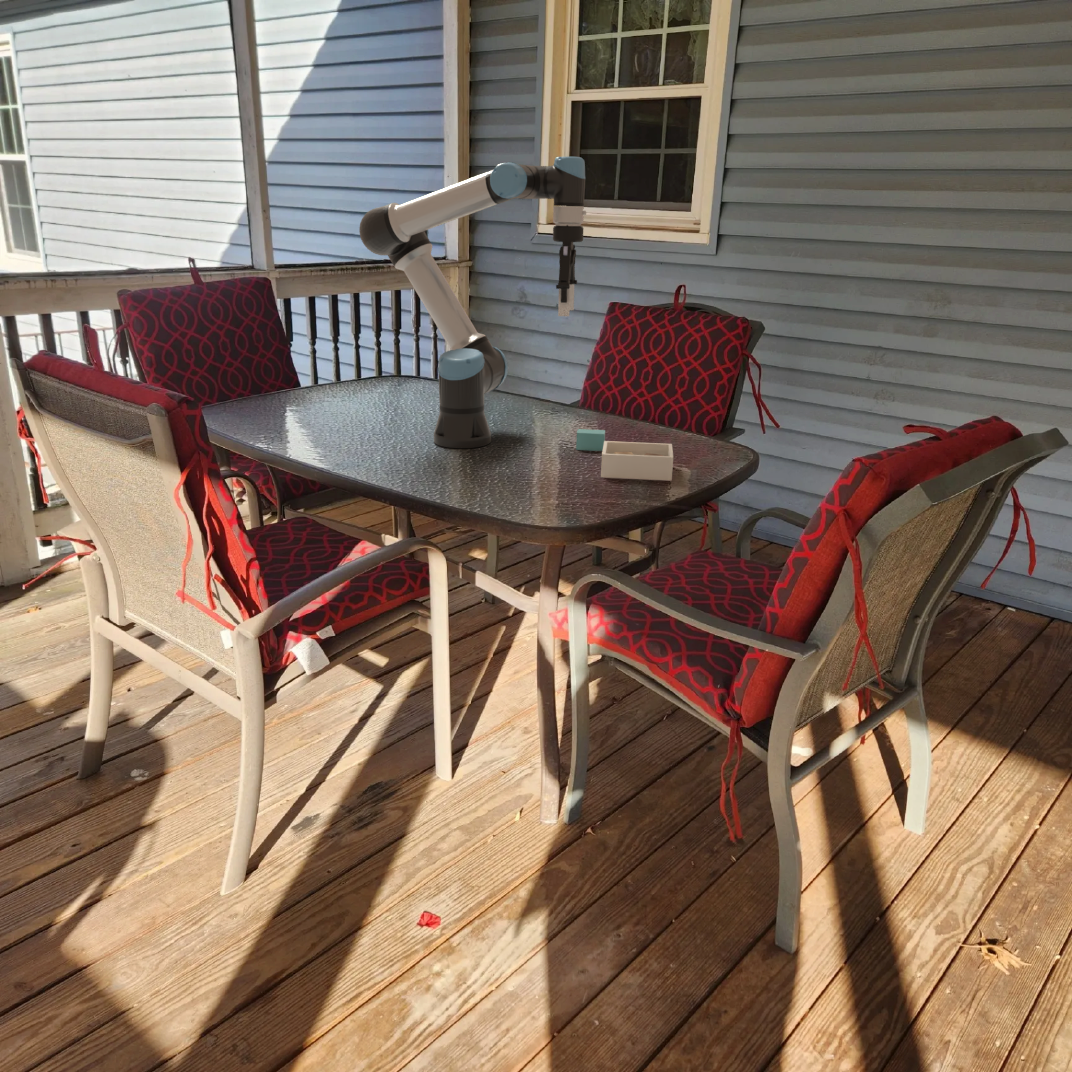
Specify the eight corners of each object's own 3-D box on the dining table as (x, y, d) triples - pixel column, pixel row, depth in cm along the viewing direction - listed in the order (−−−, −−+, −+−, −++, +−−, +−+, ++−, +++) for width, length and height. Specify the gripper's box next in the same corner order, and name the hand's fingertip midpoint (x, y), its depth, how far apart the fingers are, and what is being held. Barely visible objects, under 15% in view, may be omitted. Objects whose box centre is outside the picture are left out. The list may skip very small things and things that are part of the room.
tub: (600, 479, 195) (601, 454, 193) (603, 465, 206) (604, 441, 204) (671, 483, 193) (673, 457, 191) (670, 468, 204) (671, 443, 202)
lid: (574, 456, 213) (575, 437, 211) (578, 443, 225) (579, 424, 223) (671, 461, 210) (673, 441, 208) (670, 448, 222) (671, 429, 221)
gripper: (579, 226, 199) (577, 319, 207) (586, 224, 222) (584, 308, 230) (547, 225, 200) (546, 318, 208) (558, 223, 223) (556, 307, 231)
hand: (566, 313), depth 219 cm, fingers open, 13 cm apart
